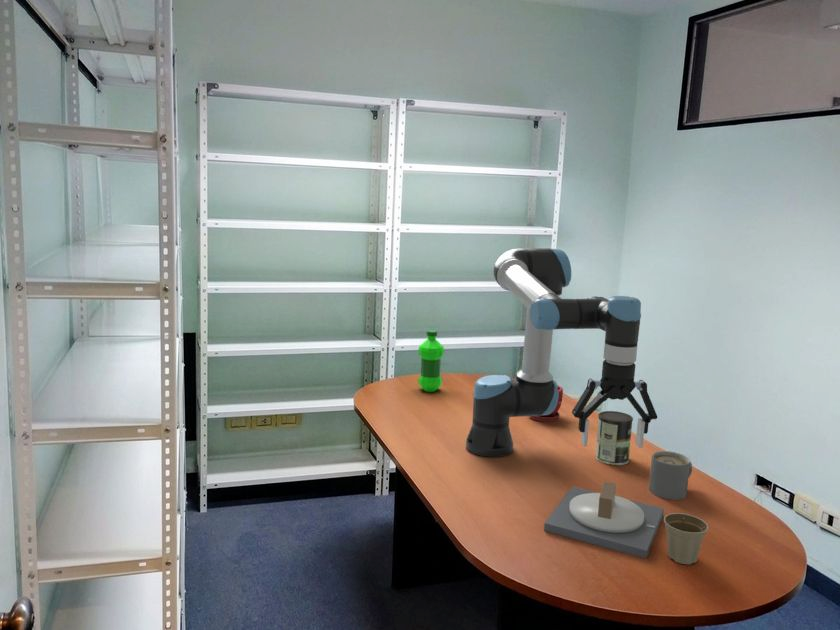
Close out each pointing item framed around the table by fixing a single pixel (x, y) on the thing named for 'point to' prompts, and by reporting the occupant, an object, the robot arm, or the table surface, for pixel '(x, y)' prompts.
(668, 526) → the flower pot
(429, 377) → the plastic bottle
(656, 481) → the coffee mug
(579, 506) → the dial
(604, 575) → the table surface
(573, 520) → the base plate
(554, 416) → the plant pot
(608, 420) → the coffee can
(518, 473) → the table surface
